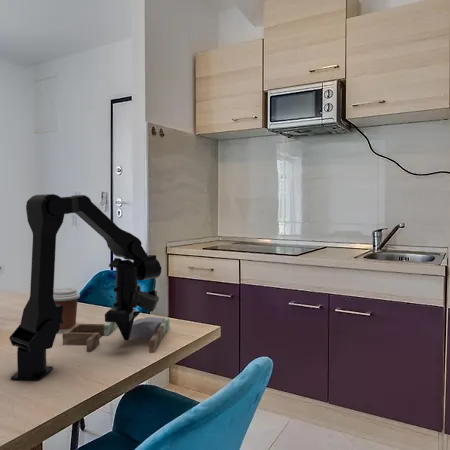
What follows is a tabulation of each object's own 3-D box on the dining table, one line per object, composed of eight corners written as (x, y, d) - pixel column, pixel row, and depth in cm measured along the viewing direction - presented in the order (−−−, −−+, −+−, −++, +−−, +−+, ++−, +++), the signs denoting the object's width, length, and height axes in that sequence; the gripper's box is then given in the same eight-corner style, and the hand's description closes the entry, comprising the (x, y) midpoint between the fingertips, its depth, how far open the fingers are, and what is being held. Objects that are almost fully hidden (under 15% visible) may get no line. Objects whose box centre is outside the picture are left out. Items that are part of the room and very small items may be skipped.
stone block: (123, 344, 116) (157, 338, 115) (120, 328, 116) (154, 322, 115) (137, 333, 128) (168, 328, 126) (134, 318, 128) (165, 313, 127)
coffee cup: (86, 326, 127) (86, 288, 127) (65, 334, 118) (65, 293, 118) (62, 323, 130) (62, 286, 130) (41, 331, 122) (40, 291, 121)
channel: (153, 352, 104) (153, 340, 104) (54, 350, 105) (54, 339, 105) (169, 327, 126) (169, 317, 126) (87, 326, 127) (87, 316, 127)
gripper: (148, 289, 101) (148, 352, 101) (162, 277, 120) (162, 330, 120) (104, 288, 101) (104, 351, 102) (125, 277, 120) (125, 329, 120)
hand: (126, 339), depth 111 cm, fingers closed
